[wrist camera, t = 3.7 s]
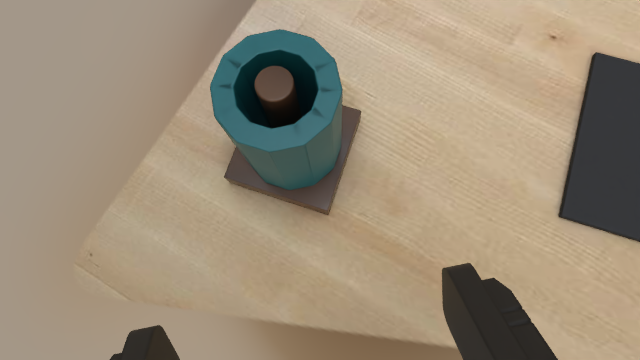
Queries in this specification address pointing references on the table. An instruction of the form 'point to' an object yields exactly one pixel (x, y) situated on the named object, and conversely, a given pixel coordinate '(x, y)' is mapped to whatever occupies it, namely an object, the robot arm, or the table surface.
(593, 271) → the table surface
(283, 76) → the ring toss
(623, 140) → the mat
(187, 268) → the table surface
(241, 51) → the teal hollow cylinder
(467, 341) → the robot arm
